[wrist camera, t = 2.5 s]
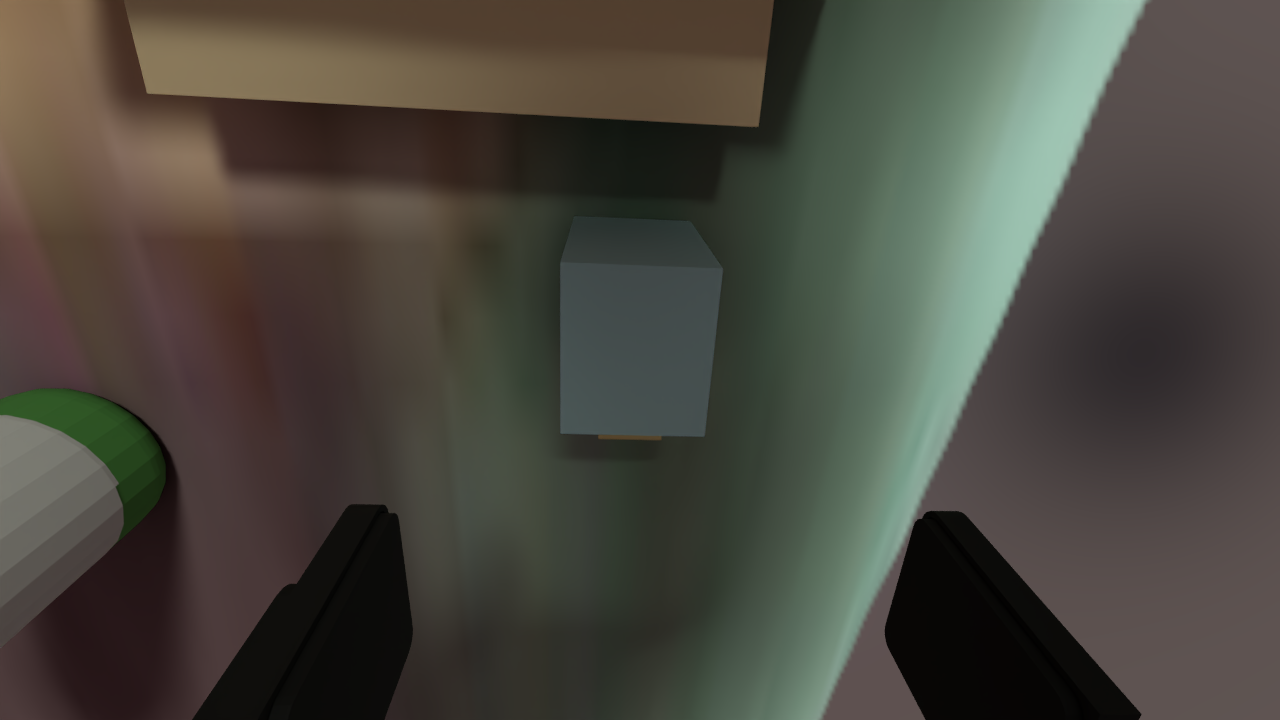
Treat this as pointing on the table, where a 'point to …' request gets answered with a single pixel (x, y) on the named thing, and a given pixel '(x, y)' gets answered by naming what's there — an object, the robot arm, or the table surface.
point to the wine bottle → (66, 492)
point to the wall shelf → (467, 55)
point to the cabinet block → (636, 328)
